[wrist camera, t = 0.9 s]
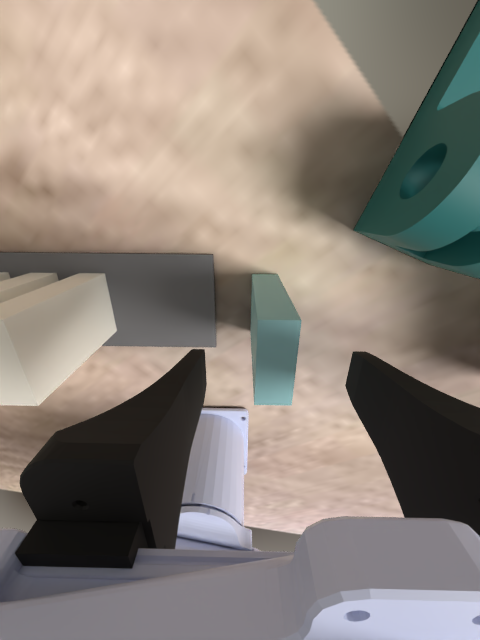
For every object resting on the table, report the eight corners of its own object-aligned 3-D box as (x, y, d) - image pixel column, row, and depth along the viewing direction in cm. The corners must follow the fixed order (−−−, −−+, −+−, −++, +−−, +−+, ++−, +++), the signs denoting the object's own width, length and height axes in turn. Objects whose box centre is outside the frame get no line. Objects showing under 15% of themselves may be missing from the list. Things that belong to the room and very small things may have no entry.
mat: (216, 345, 22) (216, 347, 22) (-50, 342, 23) (-53, 343, 22) (213, 254, 19) (212, 254, 19) (-97, 251, 19) (-102, 251, 19)
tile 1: (273, 331, 22) (291, 405, 13) (250, 330, 22) (254, 404, 13) (277, 274, 20) (301, 320, 11) (251, 273, 20) (257, 319, 11)
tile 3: (73, 330, 22) (-33, 404, 13) (50, 329, 22) (-70, 404, 13) (56, 272, 20) (-81, 318, 11) (31, 272, 20) (-124, 318, 11)
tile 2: (117, 330, 22) (38, 405, 13) (93, 330, 22) (1, 405, 13) (104, 273, 19) (2, 319, 11) (79, 273, 20) (-42, 319, 11)
